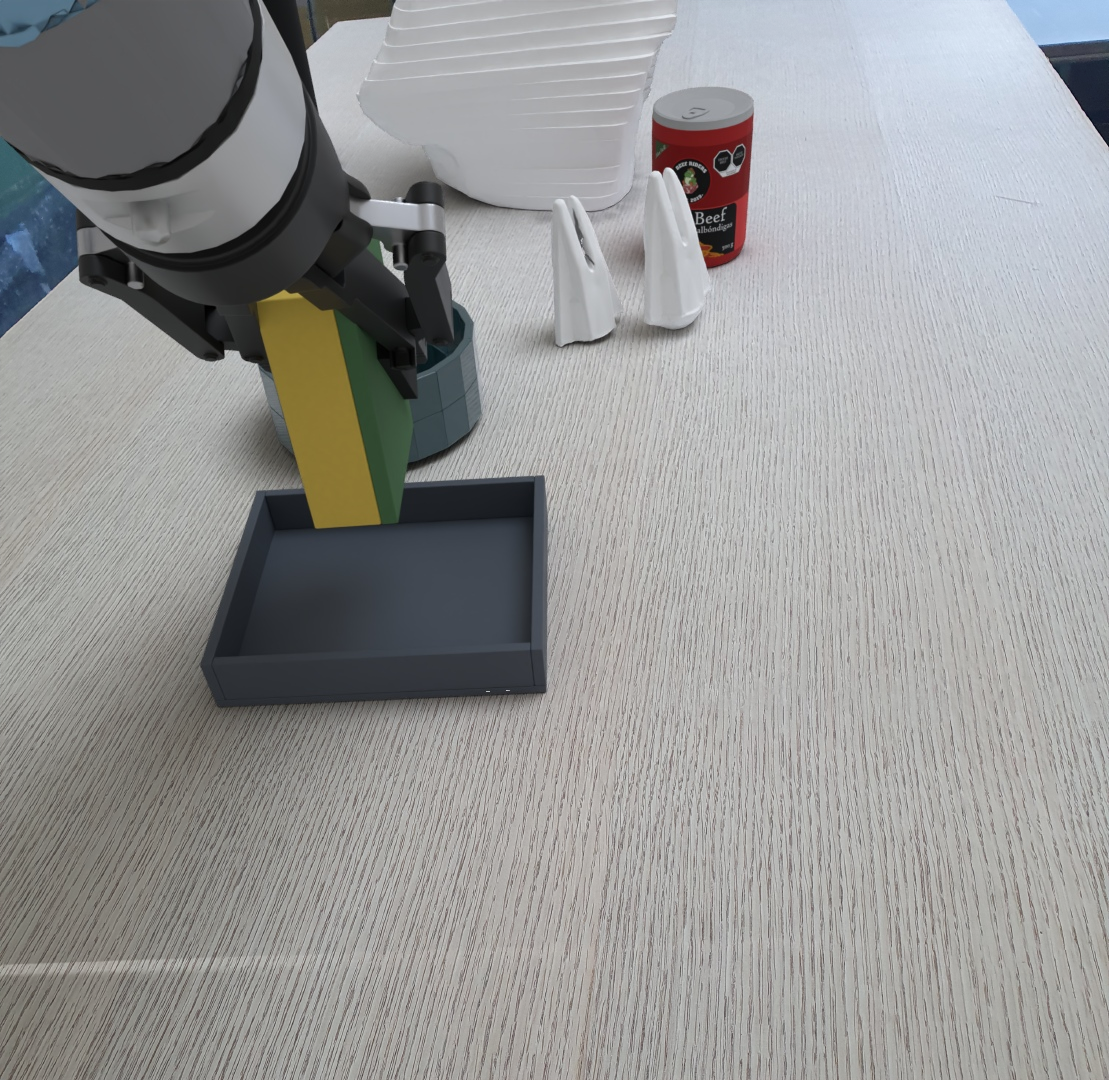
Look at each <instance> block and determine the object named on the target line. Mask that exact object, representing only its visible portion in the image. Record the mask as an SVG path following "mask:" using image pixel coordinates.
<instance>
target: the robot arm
mask: <svg viewBox="0 0 1109 1080" xmlns="http://www.w3.org/2000/svg"><path fill="white" fill-rule="evenodd" d="M318 112H319V111H318ZM318 112H317V110H316V108H315V106H314V104H313V102H312V100H311V98H310V96H309V94H308V92H307V89H306V88H305V86H304V84H303V82H302V80H301V78H300V76H299V74H298V72H297V70H296V67H295V64H294V62H293V59H292V57H291V54H290V52H289V50H288V49H287V47H286V45H285V43H284V41H283V39H282V37H281V35H280V33H279V31H278V30H277V28H276V26H275V24H274V22H273V20H272V18H271V16H270V14H269V13H268V11H267V9H266V7H265V5H264V3H263V1H262V0H0V138H2V139H3V141H5V142H6V143H7V144H8V145H9V146H10V147H11V148H12V149H13V150H14V151H15V152H16V153H17V154H18V155H19V156H20V157H21V158H22V159H23V160H24V161H26V163H28V164H29V165H30V166H31V167H32V168H33V169H34V170H35V171H36V172H37V173H39V174H40V175H41V176H42V177H43V178H44V179H45V180H47V181H48V182H49V184H51V185H52V187H54V188H55V189H56V190H57V191H58V192H59V193H60V194H62V196H64V197H65V199H67V200H68V201H69V202H70V203H71V204H73V206H75V207H76V209H75V212H74V213H75V214H74V215H75V231H76V245H77V247H76V248H77V259H78V260H77V263H78V264H77V265H78V280H79V282H80V283H81V284H82V285H84V286H86V287H88V288H91V289H94V290H96V291H99V292H101V293H104V294H105V295H108V296H111V297H113V298H116V299H118V300H121V301H122V302H124V303H125V304H126V305H127V306H129V307H130V308H132V309H133V310H134V311H136V313H138V314H140V315H141V316H142V317H143V318H145V319H146V320H147V321H148V322H150V323H151V324H153V326H155V327H156V328H158V329H159V330H160V331H162V332H163V333H164V334H166V335H167V336H168V337H170V338H171V339H172V340H174V341H175V342H176V343H177V344H178V345H180V346H181V347H183V348H184V349H185V350H187V351H188V352H189V353H191V354H192V355H193V356H194V357H196V358H197V359H199V360H203V361H205V362H208V363H209V362H210V363H211V362H212V363H213V362H217V361H221V360H224V359H225V357H226V353H225V352H226V351H232V352H238V353H239V356H240V358H241V359H242V360H243V361H244V362H248V363H251V364H254V365H255V364H256V365H258V364H259V365H260V366H261V367H262V368H263V369H264V370H265V371H267V372H269V373H272V371H271V367H270V364H269V360H268V357H267V353H266V349H265V346H264V342H263V339H262V335H261V331H260V325H259V317H258V309H257V302H258V301H262V300H264V299H267V298H270V297H272V296H274V295H276V294H278V293H280V292H281V291H283V290H285V291H287V292H288V293H290V294H294V293H298V294H300V295H301V296H302V297H304V298H305V299H306V300H308V301H309V302H310V303H312V304H313V305H314V306H316V307H317V308H318V309H320V310H322V311H326V310H333V309H336V310H337V311H339V312H340V313H341V314H343V315H344V316H345V317H346V318H348V319H349V320H350V321H352V322H353V323H355V324H357V326H358V327H359V328H361V329H362V330H363V331H365V332H366V333H367V334H368V335H370V336H371V337H372V338H374V339H375V340H376V345H377V359H378V361H379V362H380V364H381V365H382V367H383V368H384V370H385V371H386V373H387V374H388V376H389V378H390V379H391V381H392V382H393V384H394V385H395V387H396V388H397V390H398V391H399V393H400V394H401V396H402V397H403V399H404V400H406V399H418V389H417V369H416V366H417V364H425V363H426V361H427V343H428V344H430V345H435V346H438V347H443V346H448V345H450V344H452V343H453V342H454V327H453V306H452V300H453V287H452V281H451V277H450V274H449V270H448V267H447V266H448V265H447V259H448V258H447V238H446V237H447V235H446V234H447V233H446V217H445V197H444V187H443V186H442V185H441V184H439V183H437V182H434V181H427V180H422V181H418V182H415V183H413V184H412V185H410V186H409V188H408V190H407V192H406V195H405V197H402V196H395V197H394V196H393V197H392V198H391V199H390V200H383V199H375V198H372V196H371V193H370V191H369V189H368V188H367V187H366V185H365V184H364V183H363V182H362V181H360V180H359V179H358V178H356V177H354V176H352V175H350V174H349V173H347V172H346V171H345V170H344V169H343V167H342V164H341V161H340V158H339V156H338V154H337V151H336V148H335V145H334V143H333V141H332V138H331V137H330V134H329V132H328V130H327V128H326V127H325V124H324V122H323V120H322V118H321V116H320V113H319V114H318ZM372 238H373V239H377V240H379V241H380V243H382V244H383V245H382V246H383V249H384V250H385V251H387V252H389V253H391V255H392V267H393V269H394V270H397V271H398V272H399V271H400V272H403V282H402V281H401V279H399V277H397V275H395V273H393V272H392V271H391V270H390V269H389V268H388V267H387V266H386V265H385V264H384V265H383V264H382V263H381V262H380V261H379V260H378V259H377V258H376V257H375V256H374V255H373V254H372V253H371V252H370V251H369V250H368V249H367V246H368V245H369V244H370V242H371V240H372ZM257 363H258V364H257Z"/></svg>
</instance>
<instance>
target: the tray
mask: <svg viewBox="0 0 1109 1080" xmlns="http://www.w3.org/2000/svg"><path fill="white" fill-rule="evenodd" d="M545 477H546V476H545V475H544V474H540V475H521V476H506V477H505V476H502V477H500V476H499V477H485V478H484V477H483V478H463V479H448V480H429V481H428V480H427V481H410V482H409V481H408V482H404V488H403V495H402V501H401V507H400V514H399V520H398V523H394V524H382V523H381V524H377V525H363V526H348V527H333V528H318V529H317V528H315V526H314V522H313V519H312V515H311V511H310V508H309V504H308V501H307V497H306V493H305V490H304V487H301V488H300V487H299V488H283V489H282V488H281V489H267V490H266V489H261V490H256V491H255V495H254V498H253V501H252V504H251V507H250V509H249V513H248V516H247V519H246V521H245V522H246V523H245V525H244V528H243V531H242V535H241V538H240V539H239V544H238V547H237V550H236V553H235V556H234V560H233V561H232V565H231V569H230V571H229V575H228V578H227V580H226V584H225V587H224V590H223V593H222V596H221V599H220V603H219V604H218V605H219V606H218V609H217V611H216V614H215V617H214V621H213V623H212V626H211V630H210V632H209V636H208V639H207V642H206V645H205V648H204V651H203V654H202V657H201V661H200V663H199V667H200V669H201V672H202V675H203V677H204V679H205V682H206V684H207V686H208V688H209V691H210V693H211V697H212V698H213V700H214V704H215V705H216V708H225V707H226V708H227V707H247V706H248V707H249V706H271V705H272V706H273V705H291V704H293V705H295V704H314V703H317V704H319V703H336V702H337V703H338V702H339V703H340V702H360V701H382V700H403V699H405V700H406V699H426V698H427V699H428V698H448V697H470V696H492V695H493V696H495V695H514V694H534V693H535V694H536V693H537V694H538V693H547V692H548V575H549V573H548V572H549V571H548V569H549V568H548V562H549V561H548V559H549V557H548V556H549V553H548V551H549V550H548V549H549V547H548V545H549V542H548V541H549V540H548V539H549V513H548V500H547V488H546V478H545ZM506 690H510V691H506ZM486 691H490V692H486Z"/></svg>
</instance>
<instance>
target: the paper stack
mask: <svg viewBox="0 0 1109 1080" xmlns="http://www.w3.org/2000/svg"><path fill="white" fill-rule="evenodd" d="M677 13H678V0H395V2H394V3H393V6H392V10H391V14H390V19H389V20H388V22H387V27H386V31H385V35H384V36H385V37H384V39H383V40H382V44H381V46H380V48H379V50H378V53H377V54H376V57H375V58H374V59H373V60H372V62H371V65H370V68H369V70H368V71H369V72H368V74H367V75H366V77H364V79H363V81H362V83H361V85H360V88H359V91H357V92H356V93H355V96H356V99H357V101H358V105H359V107H360V109H361V111H362V114H363V115H364V116H365V117H366V118H368V119H369V120H370V121H371V122H372V123H373V125H375V126H376V127H378V128H379V129H380V130H381V131H383V132H384V133H386V134H387V135H389V136H390V137H392V138H393V139H395V140H397V141H399V142H401V143H402V144H404V145H409V146H414V147H422V150H423V151H424V153H425V156H426V157H427V158H428V159H429V163H430V166H431V169H432V172H433V174H434V175H435V178H436V179H437V180H439V181H440V182H442V183H443V184H446V185H447V186H449V187H451V188H453V189H455V190H456V191H459V192H461V193H463V194H464V195H465V196H467V197H469V198H471V199H474V200H477V201H480V202H482V203H484V204H488V205H491V206H496V207H499V208H500V207H501V208H509V209H519V210H530V211H531V210H533V211H534V210H535V211H553V204H554V202H555V201H556V200H557V199H562V200H564V202H565V204H566V206H567V209H568V199H569V197H570V196H571V195H572V196H575V197H577V198H578V200H579V201H580V203H581V204H582V206H583V208H584V209H585V211H586V212H596V211H603V210H606V209H608V208H610V207H613V206H615V205H616V204H618V203H619V202H621V200H622V199H624V198H625V196H626V195H628V194H629V192H630V191H631V188H632V186H633V182H634V176H635V175H634V174H635V164H636V163H635V162H636V145H637V136H638V132H639V131H638V130H639V124H640V121H641V117H642V113H643V109H644V106H645V103H646V102H647V100H648V98H649V97H650V95H651V94H652V93H651V91H652V89H653V88H652V84H653V81H654V74H655V71H656V65H657V61H658V56H659V53H660V51H661V48H662V46H663V44H664V41H666V40H667V39H669V38H670V37H672V35H674V33H673V31H674V30H675V28H676V24H677V17H678V16H677V15H675V14H677Z"/></svg>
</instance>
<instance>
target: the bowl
mask: <svg viewBox="0 0 1109 1080" xmlns="http://www.w3.org/2000/svg"><path fill="white" fill-rule="evenodd" d="M452 306H453V327H454V342H453V343H452V344H450V345H448V346H443V347H438V346H435V345H430V344H428V343H427V361H426V363H425V364H417V366H416V369H417V389H418V399H409V403H410V409H411V414H412V420H413V425H414V426H413V432H412V438H411V445H410V451H409V457H408V463H407V464H410V463H414V462H418V461H421V460H423V459H425V458H427V457H430V456H432V455H434V454H437V453H439V452H441V451H444V450H446V449H448V448H450V447H451V446H452V445H453V444H456V442H457V441H458V442H459V440H460V439H462V438H463V437H464V436H466V435H467V434H468V433H469V432H471V430H472V429H473V428H474V426H475V425H476V423H477V422H478V421H479V419H480V417H481V416H482V413H483V404H484V403H483V400H484V393H483V386H482V385H483V384H482V377H481V369H480V361H479V353H478V352H479V351H478V345H477V344H478V343H477V335H476V328H475V327H476V326H475V322H474V320H473V318H472V317H471V315H470V313H469V312H468V311H467V308H466V307H464V306H463V305H461V304H460V303H458V302H457V301H455V300H454V299H452ZM256 365H257V368H258V371H259V375H260V378H261V382H262V386H263V389H264V393H265V396H266V399H267V403H268V407H269V410H270V415H271V417H272V420H273V424H274V427H275V431H276V435H277V439H278V441H279V444H281V445H282V446H283V447H284V448H286V450H288V451H289V452H290V453H291V454H292V455H293V456H294V457H295V454H294V450H293V447H292V443H291V439H290V436H289V432H288V429H287V425H286V421H285V418H284V414H283V411H282V407H281V403H280V400H279V396H278V393H277V389H276V385H275V382H274V378H273V375H272V373H269V372H267V371H265V370H264V369H263V368H262V367H261V366H260V365H259V364H258V363H257V364H256Z"/></svg>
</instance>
